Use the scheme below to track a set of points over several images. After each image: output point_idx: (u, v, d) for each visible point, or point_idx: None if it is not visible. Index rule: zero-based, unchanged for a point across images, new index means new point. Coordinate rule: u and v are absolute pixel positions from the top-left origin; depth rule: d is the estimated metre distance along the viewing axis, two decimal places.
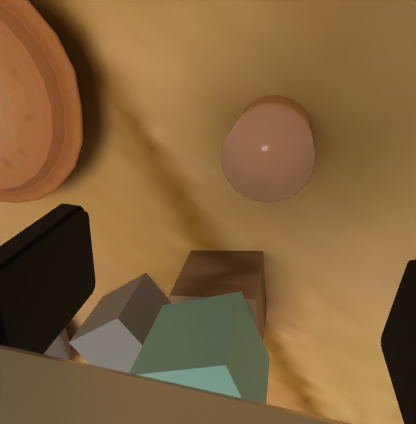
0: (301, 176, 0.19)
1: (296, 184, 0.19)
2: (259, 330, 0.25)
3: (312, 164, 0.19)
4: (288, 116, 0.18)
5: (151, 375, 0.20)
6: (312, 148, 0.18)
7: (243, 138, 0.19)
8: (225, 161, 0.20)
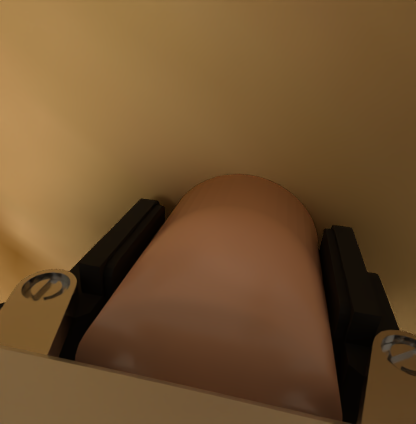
0: None
1: None
2: None
3: None
4: (257, 313, 0.05)
5: None
6: (334, 404, 0.06)
7: (126, 352, 0.06)
8: None
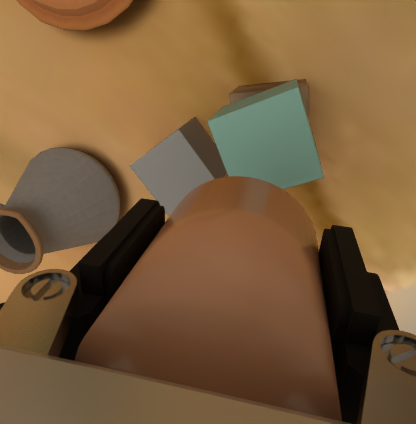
0: None
1: None
2: None
3: None
4: (256, 317, 0.05)
5: (229, 115, 0.23)
6: (332, 407, 0.06)
7: (126, 355, 0.06)
8: None
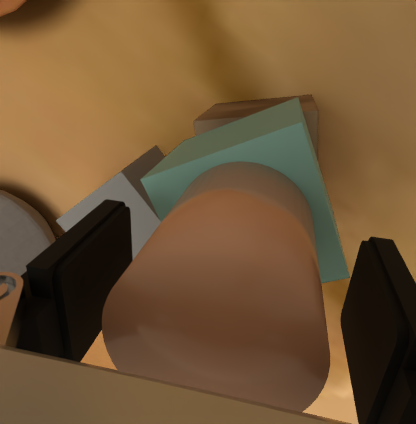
0: (294, 394, 0.08)
1: (282, 407, 0.08)
2: None
3: (323, 374, 0.07)
4: (258, 265, 0.07)
5: (177, 170, 0.13)
6: (322, 344, 0.07)
7: (147, 303, 0.07)
8: (113, 344, 0.08)
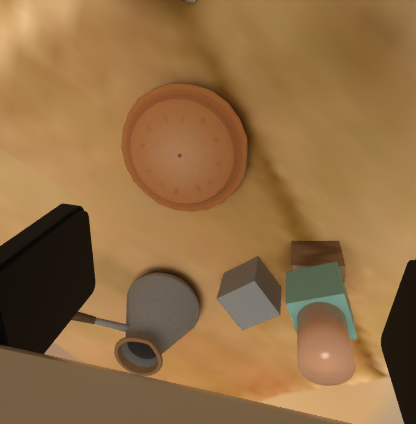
0: (346, 376, 0.32)
1: (342, 379, 0.33)
2: None
3: (353, 371, 0.32)
4: (340, 348, 0.31)
5: (300, 302, 0.37)
6: (353, 364, 0.32)
7: (312, 354, 0.32)
8: (300, 363, 0.33)
